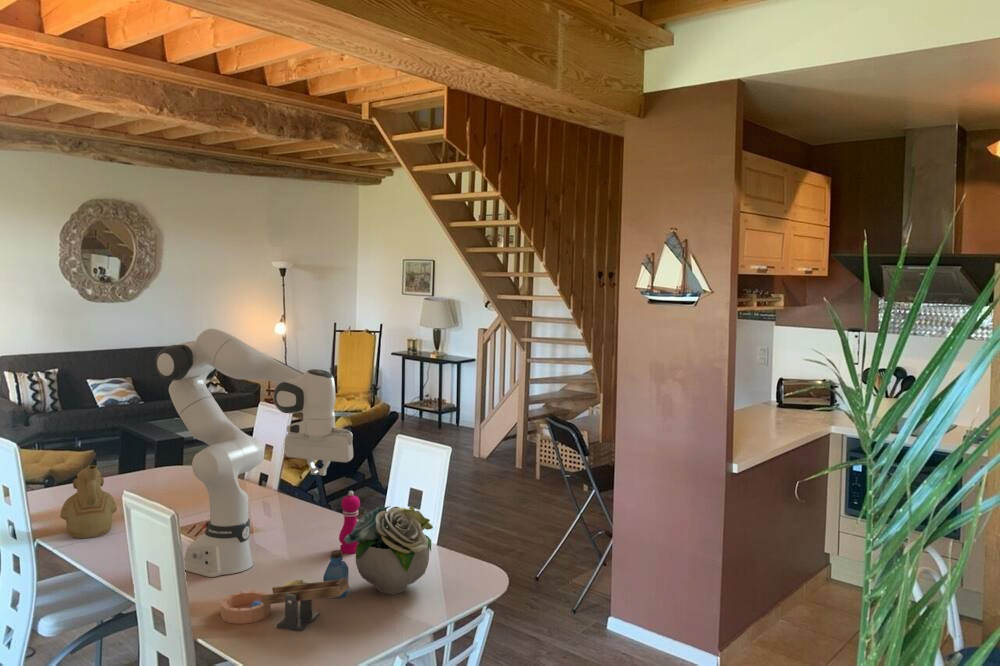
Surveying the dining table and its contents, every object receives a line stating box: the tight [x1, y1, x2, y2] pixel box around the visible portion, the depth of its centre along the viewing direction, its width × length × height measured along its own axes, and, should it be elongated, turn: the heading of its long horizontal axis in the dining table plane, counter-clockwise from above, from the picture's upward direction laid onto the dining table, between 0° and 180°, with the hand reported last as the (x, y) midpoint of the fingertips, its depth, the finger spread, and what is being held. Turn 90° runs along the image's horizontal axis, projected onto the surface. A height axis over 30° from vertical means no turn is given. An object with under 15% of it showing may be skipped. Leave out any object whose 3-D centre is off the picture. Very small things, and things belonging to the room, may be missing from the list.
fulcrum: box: [276, 581, 321, 633], centre depth 193 cm, size 7×10×9 cm
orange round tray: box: [220, 590, 272, 625], centre depth 197 cm, size 12×12×4 cm
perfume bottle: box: [322, 549, 350, 598], centre depth 211 cm, size 6×6×12 cm
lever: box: [262, 577, 350, 605], centre depth 196 cm, size 22×14×3 cm, turn 76°
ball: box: [250, 601, 261, 608], centre depth 196 cm, size 3×3×3 cm
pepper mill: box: [338, 490, 361, 555], centre depth 244 cm, size 7×7×20 cm
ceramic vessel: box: [59, 464, 118, 539], centre depth 254 cm, size 17×20×25 cm
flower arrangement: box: [344, 505, 434, 595], centre depth 215 cm, size 25×25×24 cm
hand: (318, 474), depth 213 cm, fingers closed
